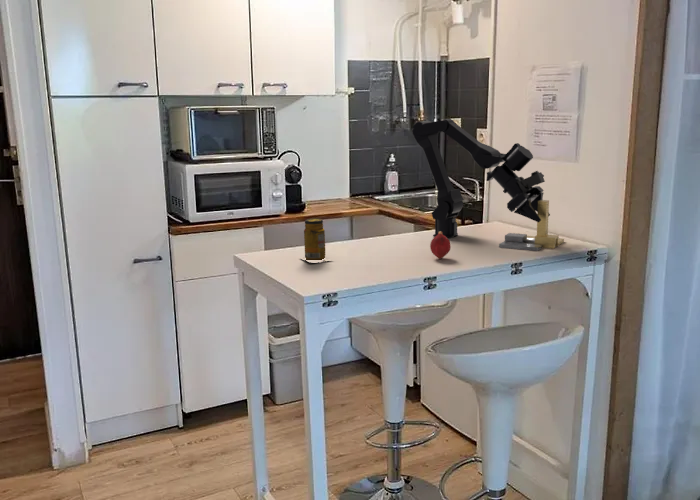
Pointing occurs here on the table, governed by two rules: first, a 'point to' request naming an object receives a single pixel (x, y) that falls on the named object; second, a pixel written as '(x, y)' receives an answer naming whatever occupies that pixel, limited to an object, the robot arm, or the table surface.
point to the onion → (440, 245)
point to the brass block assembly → (545, 228)
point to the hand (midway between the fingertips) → (544, 218)
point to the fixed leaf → (520, 242)
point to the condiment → (314, 239)
